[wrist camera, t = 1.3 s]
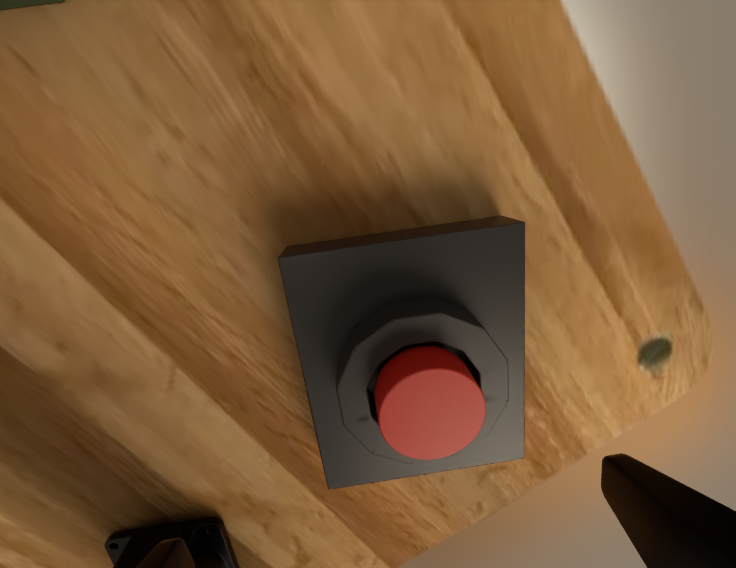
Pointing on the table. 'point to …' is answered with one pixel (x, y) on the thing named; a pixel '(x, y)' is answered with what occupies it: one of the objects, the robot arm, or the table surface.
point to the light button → (428, 403)
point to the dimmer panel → (24, 3)
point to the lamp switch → (408, 335)
